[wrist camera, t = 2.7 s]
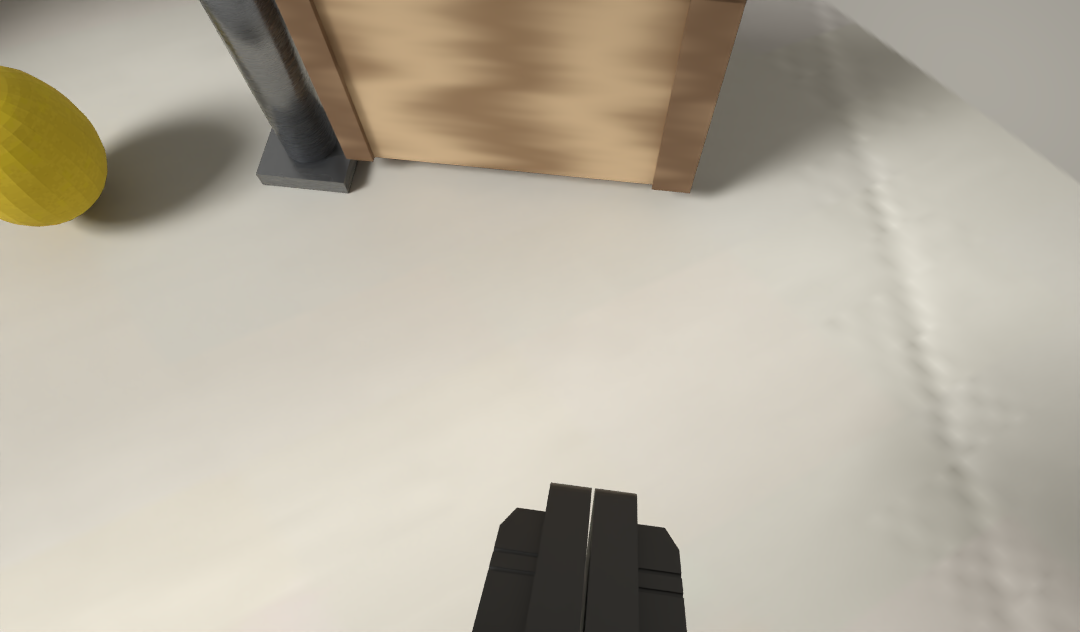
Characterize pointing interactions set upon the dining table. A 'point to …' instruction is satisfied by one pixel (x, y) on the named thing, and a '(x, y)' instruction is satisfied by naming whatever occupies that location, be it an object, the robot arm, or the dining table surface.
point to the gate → (522, 81)
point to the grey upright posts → (282, 98)
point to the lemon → (45, 154)
